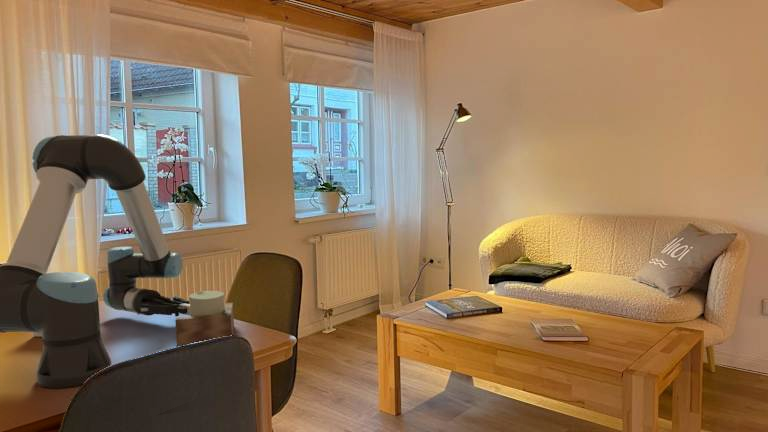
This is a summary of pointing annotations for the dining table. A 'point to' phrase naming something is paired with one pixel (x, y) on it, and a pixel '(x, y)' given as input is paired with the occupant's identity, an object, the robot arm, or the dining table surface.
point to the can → (206, 303)
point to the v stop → (204, 326)
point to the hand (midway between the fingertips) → (197, 311)
